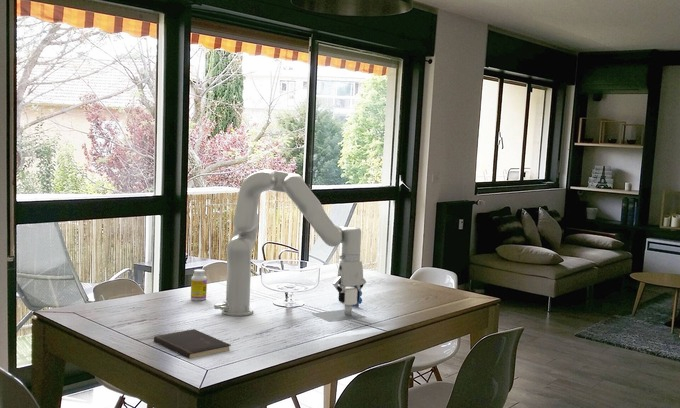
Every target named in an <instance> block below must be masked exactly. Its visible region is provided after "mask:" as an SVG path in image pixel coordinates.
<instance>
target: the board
mask: <svg viewBox="0 0 680 408" xmlns="http://www.w3.org/2000/svg"><path fill="white" fill-rule="evenodd" d="M352 310H353V305H346V304H344V309H339V310H328V311H321V312H320V311H319V312H312V313H310V315H313V316H316V317H317V318H320V319H322V320H324V321H326V322H329V323H332V322H340V321H341V322H342V321H348V320H357V319H364V318H367V316H365V315H362V314H360V313H358V312H354V311H352Z"/></svg>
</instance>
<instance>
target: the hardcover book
mask: <svg viewBox="0 0 680 408" xmlns="http://www.w3.org/2000/svg"><path fill="white" fill-rule="evenodd" d="M153 342H155V343H157V344H159V345H161V346H163V347H165V348H166V349H169V350H170V351H173V352H175V353H177V354H179V355H180V356H183V357H185V358H187V359H194V358H198V357H203V356H207V355H211V354H217V353H221V352H225V351H230V347H231V346H232V345H231V344H229V343H227V342H226V341H222V340H220V339H218V338H216V337H214V336H211V335H209V334H208V333H205V332H201V331H199V330H197V329H196V328H193V329H188V330H182V331H177V332H176V331H175V332H171V333H170V332H169V333H165V334H160V335H155V336H154V337H153Z"/></svg>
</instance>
